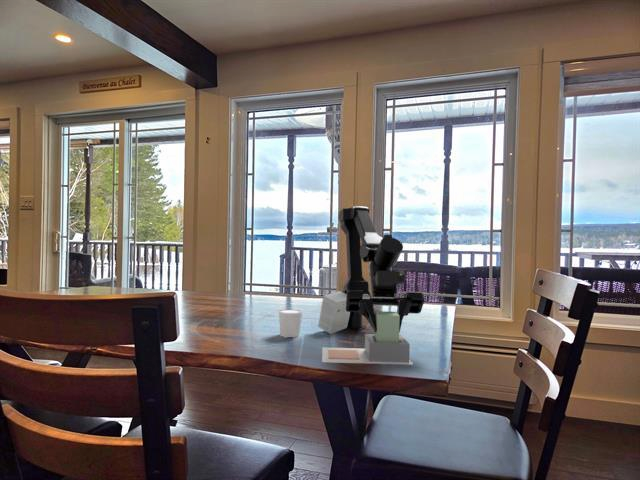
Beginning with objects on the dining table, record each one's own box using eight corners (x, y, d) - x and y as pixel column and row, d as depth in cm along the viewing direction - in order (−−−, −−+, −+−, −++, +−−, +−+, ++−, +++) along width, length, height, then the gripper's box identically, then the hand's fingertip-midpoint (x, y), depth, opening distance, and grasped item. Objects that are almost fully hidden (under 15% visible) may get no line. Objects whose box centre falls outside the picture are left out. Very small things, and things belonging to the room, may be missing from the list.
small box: (334, 320, 126) (339, 290, 123) (347, 328, 123) (353, 297, 120) (317, 326, 120) (322, 295, 117) (330, 334, 117) (336, 302, 114)
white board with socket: (322, 351, 99) (322, 331, 99) (402, 353, 98) (402, 333, 98) (322, 366, 87) (322, 343, 87) (412, 368, 86) (413, 346, 86)
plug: (373, 352, 95) (374, 311, 95) (394, 353, 95) (395, 311, 95) (376, 358, 90) (377, 315, 90) (398, 359, 90) (399, 315, 90)
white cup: (303, 333, 118) (303, 309, 118) (299, 338, 111) (300, 313, 111) (280, 332, 119) (281, 308, 119) (275, 337, 112) (276, 312, 112)
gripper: (347, 257, 97) (349, 310, 85) (423, 259, 96) (435, 312, 85) (345, 285, 104) (346, 337, 93) (415, 287, 104) (425, 339, 93)
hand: (387, 331), depth 91 cm, fingers closed on plug, 5 cm apart
